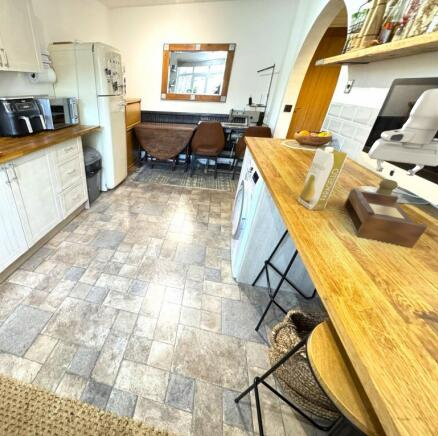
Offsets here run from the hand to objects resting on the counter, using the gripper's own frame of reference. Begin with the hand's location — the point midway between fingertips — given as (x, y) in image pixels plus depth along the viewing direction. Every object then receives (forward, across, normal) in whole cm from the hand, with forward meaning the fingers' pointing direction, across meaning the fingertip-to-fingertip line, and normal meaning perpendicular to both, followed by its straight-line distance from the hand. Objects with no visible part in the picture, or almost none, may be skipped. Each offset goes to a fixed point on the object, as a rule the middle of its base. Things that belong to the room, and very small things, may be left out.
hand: (393, 173), depth 93 cm
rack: (+14, +6, +20) cm, 25 cm away
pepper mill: (+14, 0, 0) cm, 14 cm away
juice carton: (+14, +25, +13) cm, 31 cm away
